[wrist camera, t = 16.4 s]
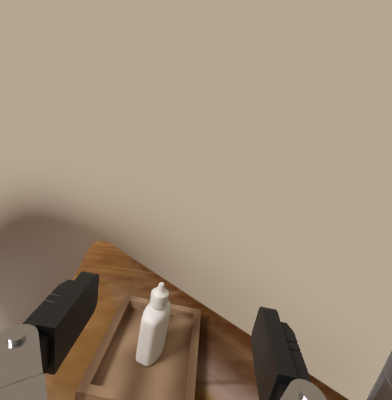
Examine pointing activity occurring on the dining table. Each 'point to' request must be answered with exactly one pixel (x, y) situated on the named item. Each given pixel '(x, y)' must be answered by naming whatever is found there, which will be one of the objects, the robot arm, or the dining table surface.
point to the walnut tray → (137, 373)
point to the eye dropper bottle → (153, 326)
